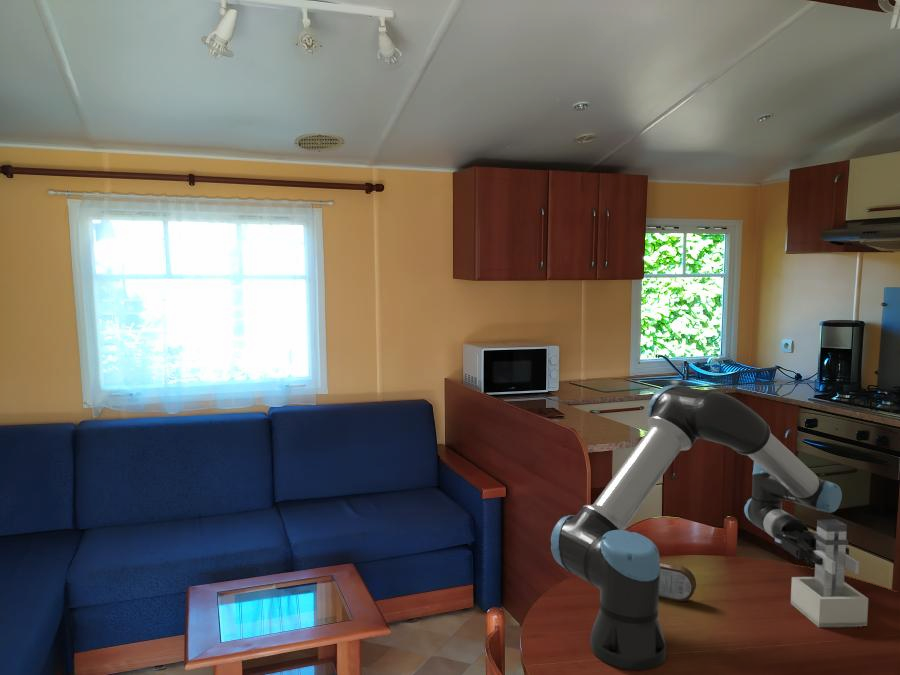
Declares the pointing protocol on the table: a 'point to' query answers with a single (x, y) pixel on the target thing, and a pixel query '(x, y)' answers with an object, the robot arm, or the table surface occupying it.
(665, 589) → the tin
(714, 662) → the table surface
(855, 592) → the open box
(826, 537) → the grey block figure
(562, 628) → the table surface
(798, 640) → the table surface
